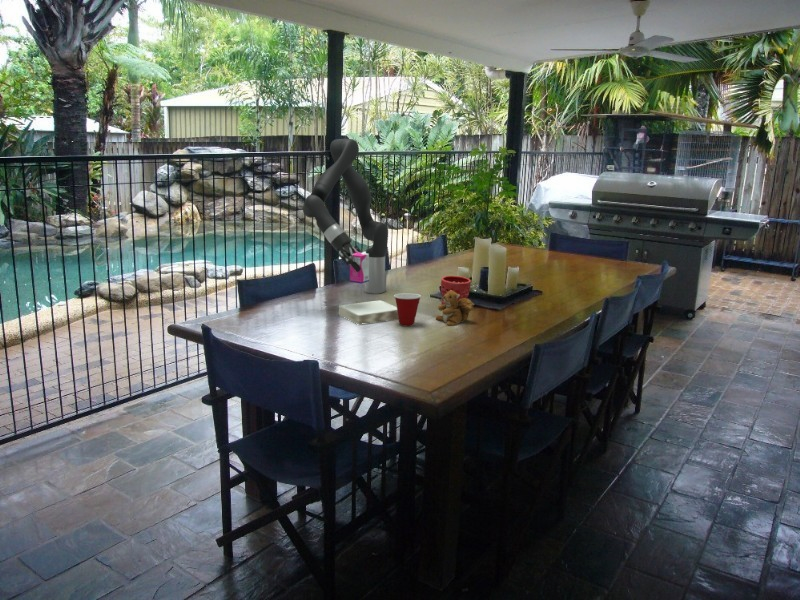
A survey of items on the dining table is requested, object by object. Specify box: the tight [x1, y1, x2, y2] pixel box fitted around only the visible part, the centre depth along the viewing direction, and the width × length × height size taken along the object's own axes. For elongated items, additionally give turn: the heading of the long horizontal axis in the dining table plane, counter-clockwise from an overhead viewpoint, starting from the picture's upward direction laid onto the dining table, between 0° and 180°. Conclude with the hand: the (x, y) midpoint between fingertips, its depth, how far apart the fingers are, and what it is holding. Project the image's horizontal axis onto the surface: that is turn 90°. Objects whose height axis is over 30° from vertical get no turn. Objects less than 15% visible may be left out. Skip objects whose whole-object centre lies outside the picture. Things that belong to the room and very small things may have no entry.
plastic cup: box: [393, 292, 422, 327], centre depth 259 cm, size 11×11×12 cm
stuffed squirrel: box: [435, 290, 475, 327], centre depth 265 cm, size 10×14×13 cm
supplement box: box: [349, 252, 369, 285], centre depth 265 cm, size 6×6×12 cm
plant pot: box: [440, 275, 472, 305], centre depth 291 cm, size 13×13×12 cm
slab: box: [338, 299, 399, 325], centre depth 268 cm, size 20×16×4 cm
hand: (363, 269), depth 264 cm, fingers closed on supplement box, 6 cm apart
